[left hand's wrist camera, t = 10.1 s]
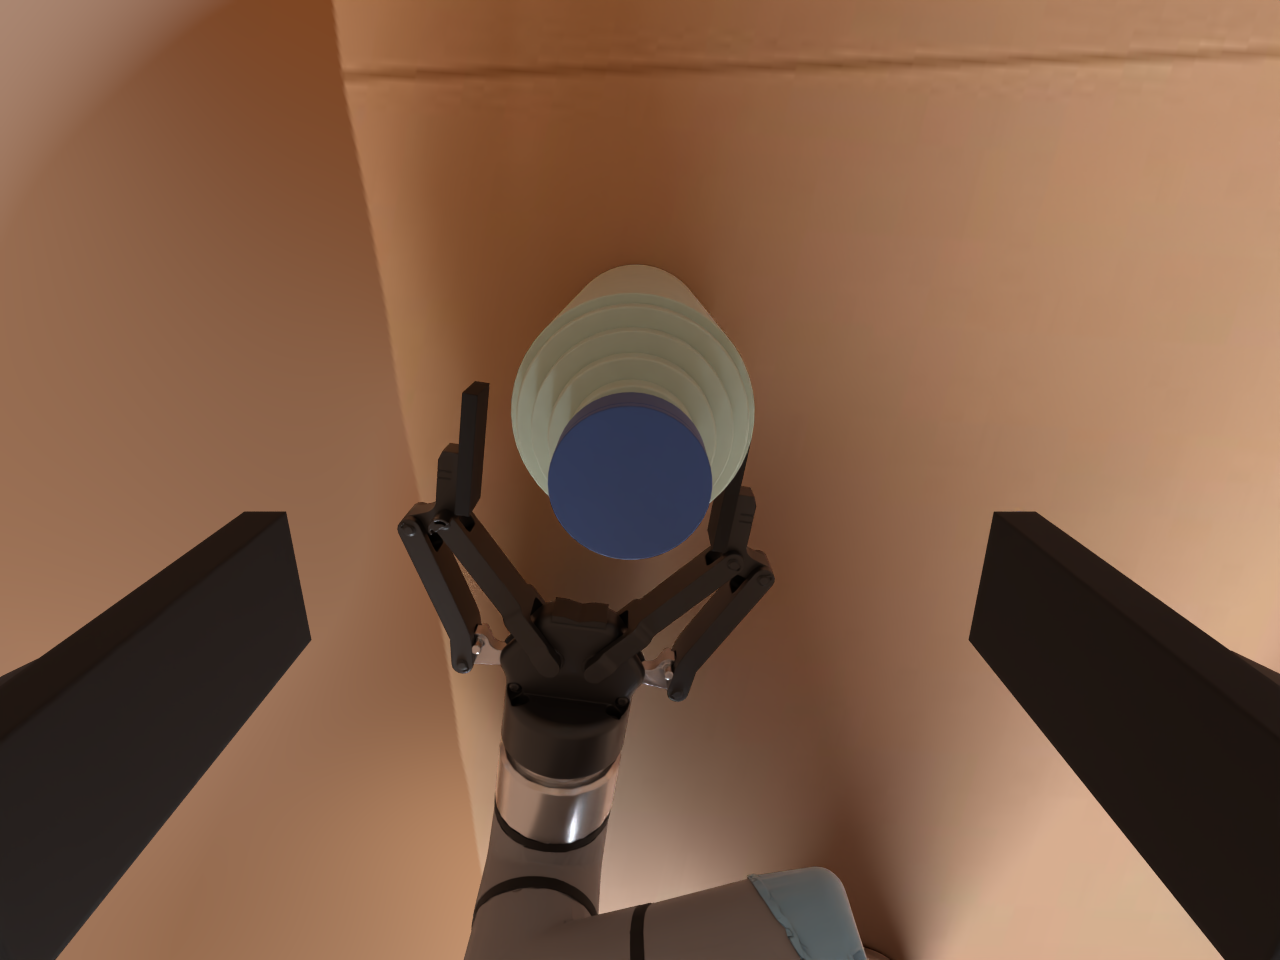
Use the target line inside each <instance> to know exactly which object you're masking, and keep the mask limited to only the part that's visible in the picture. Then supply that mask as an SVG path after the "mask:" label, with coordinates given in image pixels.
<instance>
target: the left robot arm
mask: <svg viewBox="0 0 1280 960" xmlns="http://www.w3.org/2000/svg"><path fill="white" fill-rule="evenodd" d="M310 641H311V636H310V631H309V625H308V620H307V615H306V610H305V605H304V600H303V595H302V590H301V585H300V580H299V575H298V570H297V565H296V560H295V554H294V550H293V544H292V539H291V534H290V529H289V524H288V519H287V514H286V512H243V513H242V514H240V515H239V516H238V517H236V518H235V519H233V520H232V521H231V522H229V523H228V524H226V525H225V526H224V527H222V528H221V529H219V530H218V531H217V532H215V533H214V534H212V535H211V536H210V537H208V538H207V539H205V540H204V541H203V542H201V543H200V544H198V545H197V546H196V547H194V548H193V549H191V550H190V551H189V552H187V553H186V554H184V555H183V556H182V557H180V558H179V559H177V560H176V561H175V562H173V563H172V564H170V565H169V566H168V567H166V568H165V569H163V570H162V571H161V572H159V573H158V574H156V575H155V576H154V577H152V578H151V579H149V580H148V581H147V582H145V583H144V584H142V585H141V586H140V587H138V588H137V589H135V590H134V591H133V592H131V593H130V594H128V595H127V596H126V597H124V598H123V599H121V600H120V601H119V602H117V603H116V604H114V605H113V606H112V607H110V608H109V609H107V610H106V611H105V612H103V613H102V614H100V615H99V616H98V617H96V618H95V619H93V620H92V621H91V622H89V623H88V624H86V625H85V626H84V627H82V628H81V629H79V630H78V631H76V632H75V633H74V634H72V635H71V636H70V637H68V638H67V639H65V640H64V641H62V642H61V643H60V644H58V645H57V646H56V647H54V648H53V649H51V650H50V651H48V652H47V653H46V654H44V655H43V656H41V657H40V658H39V659H36V660H34V661H32V662H30V663H28V664H26V665H24V666H22V667H20V668H18V669H16V670H13V671H12V672H9V673H7V674H5V675H3V676H1V677H0V960H55V959H56V958H57V957H58V956H59V954H60V953H61V952H62V951H63V950H64V948H65V947H66V946H67V945H68V943H69V942H70V941H71V940H72V938H73V937H74V936H75V935H76V933H77V932H78V931H79V929H80V928H81V927H82V926H83V924H84V923H85V922H86V921H87V920H88V918H89V917H90V916H91V914H92V913H93V912H94V911H95V909H96V908H97V907H98V906H99V904H100V903H101V902H102V901H103V900H104V898H105V897H106V896H107V895H108V893H109V892H110V891H111V890H112V888H113V887H114V886H115V885H116V883H117V882H118V881H119V879H120V878H121V877H122V876H123V874H124V873H125V872H126V871H127V870H128V868H129V867H130V866H131V865H132V863H133V862H134V861H135V860H136V858H137V857H138V856H139V855H140V853H141V852H142V851H143V850H144V848H145V847H146V846H147V845H148V843H149V842H150V841H151V840H152V838H153V837H154V836H155V835H156V833H157V832H158V831H159V829H160V828H161V827H162V826H163V825H164V823H165V822H166V821H167V819H168V818H169V817H170V816H171V815H172V813H173V812H174V811H175V810H176V808H177V807H178V806H179V805H180V803H181V802H182V801H183V799H184V798H185V797H186V796H187V795H188V793H189V792H190V791H191V790H192V788H193V787H194V786H195V785H196V783H197V782H198V781H199V780H200V778H201V777H202V776H203V775H204V773H205V772H206V771H207V770H208V768H209V767H210V766H211V765H212V763H213V762H214V761H215V760H216V758H217V757H218V756H219V755H220V753H221V752H222V751H223V750H224V748H225V747H226V746H227V745H228V743H229V742H230V741H231V740H232V738H233V737H234V736H235V735H236V733H237V732H238V731H239V729H240V728H241V727H242V726H243V725H244V723H245V722H246V721H247V720H248V718H249V717H250V716H251V715H252V713H253V712H254V711H255V710H256V708H257V707H258V706H259V705H260V703H261V702H262V701H263V700H264V698H265V697H266V696H267V695H268V693H269V692H270V691H271V690H272V688H273V687H274V686H275V685H276V683H277V682H278V681H279V680H280V678H281V677H282V676H283V675H284V673H285V672H286V671H287V670H288V668H289V667H290V666H291V665H292V663H293V662H294V661H295V660H296V658H297V657H298V656H299V655H300V653H301V652H302V651H303V650H304V648H305V647H306V646H307V645H308V643H309V642H310ZM969 641H970V642H971V643H972V645H973V646H974V647H975V648H976V650H977V651H978V652H979V653H980V655H981V656H982V657H983V658H984V660H985V661H986V662H987V663H988V665H989V666H990V667H991V668H992V670H993V671H994V672H995V673H996V675H997V676H998V677H999V678H1000V680H1001V681H1002V682H1003V683H1004V685H1005V686H1006V687H1007V688H1008V690H1009V691H1010V692H1011V693H1012V695H1013V696H1014V697H1015V698H1016V700H1017V701H1018V702H1019V703H1020V705H1021V706H1022V707H1023V708H1024V710H1025V711H1026V712H1027V713H1028V715H1029V716H1030V717H1031V718H1032V720H1033V721H1034V722H1035V723H1036V725H1037V726H1038V727H1039V728H1040V730H1041V731H1042V732H1043V733H1044V735H1045V736H1046V737H1047V738H1048V740H1049V741H1050V742H1051V743H1052V745H1053V746H1054V747H1055V748H1056V750H1057V751H1058V752H1059V753H1060V755H1061V756H1062V757H1063V758H1064V760H1065V761H1066V762H1067V763H1068V765H1069V766H1070V767H1071V768H1072V770H1073V771H1074V772H1075V773H1076V775H1077V776H1078V777H1079V778H1080V780H1081V781H1082V782H1083V783H1084V785H1085V786H1086V787H1087V788H1088V790H1089V791H1090V792H1091V793H1092V795H1093V796H1094V797H1095V798H1096V800H1097V801H1098V802H1099V803H1100V805H1101V806H1102V807H1103V808H1104V810H1105V811H1106V812H1107V813H1108V815H1109V816H1110V817H1111V818H1112V820H1113V821H1114V822H1115V823H1116V825H1117V826H1118V827H1119V828H1120V830H1121V831H1122V832H1123V833H1124V835H1125V836H1126V837H1127V838H1128V840H1129V841H1130V842H1131V843H1132V845H1133V846H1134V847H1135V848H1136V850H1137V851H1138V852H1139V853H1140V855H1141V856H1142V857H1143V858H1144V860H1145V861H1146V862H1147V863H1148V865H1149V866H1150V867H1151V868H1152V870H1153V871H1154V872H1155V873H1156V875H1157V876H1158V877H1159V878H1160V880H1161V881H1162V882H1163V883H1164V885H1165V886H1166V887H1167V888H1168V890H1169V891H1170V892H1171V893H1172V895H1173V896H1174V897H1175V898H1176V900H1177V901H1178V902H1179V903H1180V905H1181V906H1182V907H1183V908H1184V910H1185V911H1186V912H1187V913H1188V915H1189V916H1190V917H1191V918H1192V920H1193V921H1194V922H1195V923H1196V925H1197V926H1198V927H1199V928H1200V930H1201V931H1202V932H1203V933H1204V935H1205V936H1206V937H1207V938H1208V940H1209V941H1210V942H1211V943H1212V945H1213V946H1214V947H1215V948H1216V950H1217V951H1218V952H1219V953H1220V955H1221V956H1222V957H1223V958H1224V960H1280V674H1279V673H1277V672H1275V671H1273V670H1271V669H1269V668H1267V667H1264V666H1262V665H1260V664H1258V663H1256V662H1254V661H1252V660H1250V659H1248V658H1246V657H1244V656H1241V655H1239V654H1237V653H1235V652H1233V651H1230V650H1229V649H1227V648H1226V647H1225V646H1223V645H1222V644H1220V643H1219V642H1217V641H1216V640H1215V639H1213V638H1212V637H1210V636H1209V635H1208V634H1206V633H1205V632H1203V631H1202V630H1201V629H1199V628H1198V627H1196V626H1195V625H1194V624H1192V623H1191V622H1189V621H1188V620H1187V619H1185V618H1184V617H1182V616H1181V615H1180V614H1178V613H1177V612H1175V611H1174V610H1173V609H1171V608H1170V607H1168V606H1167V605H1166V604H1164V603H1163V602H1161V601H1160V600H1159V599H1157V598H1156V597H1154V596H1153V595H1152V594H1150V593H1149V592H1147V591H1146V590H1145V589H1143V588H1142V587H1140V586H1139V585H1138V584H1136V583H1135V582H1133V581H1132V580H1131V579H1129V578H1128V577H1126V576H1125V575H1124V574H1122V573H1121V572H1119V571H1118V570H1117V569H1115V568H1114V567H1112V566H1111V565H1110V564H1108V563H1107V562H1105V561H1104V560H1103V559H1101V558H1100V557H1098V556H1097V555H1096V554H1094V553H1093V552H1091V551H1090V550H1089V549H1087V548H1086V547H1084V546H1083V545H1082V544H1080V543H1079V542H1077V541H1076V540H1075V539H1073V538H1072V537H1070V536H1069V535H1068V534H1066V533H1065V532H1063V531H1062V530H1061V529H1059V528H1058V527H1056V526H1055V525H1054V524H1052V523H1051V522H1049V521H1048V520H1047V519H1045V518H1044V517H1042V516H1041V515H1040V514H1038V513H1037V512H994V514H993V519H992V524H991V529H990V534H989V539H988V544H987V549H986V554H985V559H984V565H983V570H982V575H981V580H980V585H979V590H978V595H977V600H976V605H975V610H974V615H973V620H972V625H971V630H970V635H969Z"/></svg>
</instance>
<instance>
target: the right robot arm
mask: <svg viewBox="0 0 1280 960" xmlns="http://www.w3.org/2000/svg"><path fill="white" fill-rule="evenodd" d="M488 395H489V383H484V382H477V381H475V382H474V383H473V384H471V385H470V386H469V387H468V388H467V389H466V390H465V391H464V392H463V393H462V405H461V421H460V436H459V444H453V443H449V445H448V446H447V447H446V448H445V449H444V450H443V451H442V453H441V455H440V457H439V459H438V472H437V490H436V502H434V503H429V504H427V503H424V502H419V503H417V504H415V505H414V506H413V507H412V508H411V510H410V511H409V512H408V513H407V514H406V516H405V517H404V518H403V519H402V521H401V522H400V523H399V525H398V533H399V535H400V537H401V539H402V541H403V543H404V545H405V548H406V550H407V552H408V554H409V556H410V558H411V560H412V562H413V564H414V566H415V568H416V570H417V572H418V574H419V576H420V578H421V580H422V583H423V584H424V587H425V589H426V591H427V593H428V595H429V597H430V599H431V601H432V603H433V605H434V607H435V609H436V611H437V613H438V615H439V617H440V620H441V622H442V624H443V626H444V628H445V630H446V632H447V634H448V636H449V638H450V646H451V661H452V667H453V669H454V670H455V671H457V672H458V673H468V672H470V671H471V669H472V668H473V665H474V664H497V665H501V667H502V669H503V670H504V673H505V675H506V691H505V700H504V710H503V719H502V729H501V735H502V739H501V742H500V746H499V757H498V768H497V779H496V791H495V807H494V814H493V821H492V828H491V835H490V842H489V849H488V854H487V859H486V864H485V868H484V872H483V876H482V880H481V884H480V888H479V892H478V897H477V900H476V905H475V909H474V914H473V921H472V931H471V935H470V939H469V942H468V946H467V950H466V954H465V957H464V960H890V959H889V958H887V957H885V956H884V955H882V954H880V953H878V952H876V951H874V950H871V949H868V948H865V947H863V945H862V942H861V939H860V935H859V932H858V929H857V926H856V923H855V920H854V916H853V913H852V910H851V907H850V903H849V900H848V897H847V894H846V891H845V888H844V886H843V884H842V882H841V881H840V879H839V878H838V877H837V876H836V875H835V874H834V873H833V872H831V871H830V870H828V869H826V868H823V867H816V866H815V867H807V868H801V869H794V870H788V871H781V872H774V873H768V874H761V875H756V874H751V875H747V878H748V879H746V880H742V881H738V882H734V883H730V884H726V885H722V886H718V887H715V888H711V889H707V890H703V891H699V892H695V893H691V894H687V895H683V896H680V897H676V898H672V899H668V900H664V901H660V902H656V903H647V904H643V905H638V906H634V907H630V908H625V909H621V910H617V911H612V912H608V913H604V914H599V915H598V911H599V894H600V878H601V867H602V858H603V852H604V845H605V838H606V831H607V824H608V818H609V815H610V810H611V806H612V804H613V798H614V793H615V787H616V781H617V775H618V770H619V764H620V758H621V750H622V747H623V743H624V737H625V732H626V726H627V721H628V715H629V710H630V704H631V699H632V695H633V693H634V692H635V690H636V689H637V688H638V687H639V686H640V685H641V684H646V685H651V686H655V687H659V688H664V689H667V695H668V697H669V698H670V699H671V700H673V701H677V702H679V701H683V700H684V699H686V697H687V696H688V693H689V690H690V687H691V685H692V682H693V679H694V676H695V673H696V672H697V670H698V669H699V668H700V667H701V666H702V665H703V664H704V662H705V661H706V660H707V659H708V658H709V657H710V656H711V654H712V653H713V652H714V651H715V650H716V649H717V648H718V647H719V645H720V644H721V643H722V642H723V641H724V640H725V639H726V637H727V636H728V635H729V634H730V633H731V632H732V631H733V630H734V628H735V627H736V626H737V625H738V624H739V623H740V622H741V620H742V619H743V618H744V617H745V616H746V615H747V614H748V612H749V611H750V610H751V609H752V608H753V607H754V606H755V605H756V603H757V602H758V601H759V600H760V599H761V598H762V597H763V595H764V594H765V593H766V592H767V591H768V590H769V589H770V588H771V586H772V585H773V583H774V580H775V578H774V575H773V572H772V569H771V567H770V564H769V562H768V559H767V557H766V554H765V553H764V552H762V551H760V550H755V551H754V550H752V549H750V548H749V547H747V543H748V539H749V535H750V530H751V526H752V522H753V518H754V513H755V509H756V503H755V498H754V495H753V493H752V490H751V488H750V487H743V486H741V484H742V479H743V475H744V470H745V466H746V461H747V457H748V452H749V448H750V445H749V448H748V451H747V454H746V456H745V458H744V460H743V463H742V465H741V467H740V468H739V470H738V471H737V473H736V475H735V476H734V478H733V479H732V480H731V482H730V483H729V484H728V485H727V487H726V488H725V489H724V490H723V491H722V492H721V493H720V494H719V495H718V496H717V497H716V498H715V499H714V501H713V506H712V510H711V515H710V520H709V525H708V535H709V539H710V544H711V546H710V547H708V548H707V549H706V550H705V551H703V552H702V553H701V554H699V555H698V556H697V557H695V558H694V559H693V560H691V561H690V562H689V563H687V564H686V565H685V566H683V567H682V568H681V569H679V570H678V571H677V572H676V573H674V574H673V575H672V576H670V577H669V578H668V579H666V580H665V581H664V582H662V583H661V584H660V585H658V586H657V587H656V588H654V589H653V590H652V591H650V592H649V593H648V594H646V595H645V596H644V597H643V598H641V599H639V600H638V599H635V600H633V601H632V602H630V603H629V604H628V605H626V606H625V607H624V608H622V609H621V610H620V611H618V612H617V613H616V612H615V611H613V610H611V609H609V608H608V605H609V604H602V603H587V604H581V603H578V602H575V601H573V600H570V599H565V598H558V597H556V600H555V601H552V602H548V603H545V601H544V600H543V599H542V597H541V596H540V595H539V593H538V592H537V591H536V589H535V588H534V587H533V586H532V585H531V584H527V583H526V582H525V581H524V579H523V578H522V577H521V575H520V574H519V573H518V571H517V570H516V569H515V567H514V566H513V565H512V563H511V562H510V561H509V560H508V558H507V557H506V556H505V554H504V553H503V552H502V550H501V549H500V548H499V546H498V545H497V544H496V542H495V541H494V540H493V538H492V537H491V536H490V534H489V533H488V532H487V530H486V529H485V528H484V526H483V525H482V524H481V523H480V521H479V520H478V519H477V517H476V516H475V515H474V513H473V512H472V511H473V509H474V507H475V506H476V504H477V502H478V501H479V499H480V496H481V483H482V471H483V458H484V446H485V433H486V420H487V408H488ZM751 439H752V438H751ZM750 443H751V441H750ZM453 553H454V554H453ZM454 555H455V556H456V557H457V558H458V560H459V561H460V562H461V563H462V565H463V566H464V567H465V569H466V570H467V571H468V572H469V574H470V575H471V576H472V577H473V579H474V580H475V581H476V583H477V584H478V585H479V586H480V588H481V589H482V590H483V591H484V593H485V594H486V595H487V597H488V598H489V599H490V600H491V602H492V603H493V604H494V606H495V607H496V608H497V609H498V611H499V612H500V613H501V615H502V617H503V621H504V624H505V626H506V628H507V629H508V630H509V632H510V633H511V634H510V635H509V636H508V637H507V638H506V640H505V642H503V641H499V640H497V639H496V638H495V637H494V636H493V634H492V631H491V630H490V626H489V625H488V624H487V623H482V624H481V617H480V613H479V610H478V607H477V604H476V602H475V600H474V598H473V596H472V594H471V591H470V589H469V587H468V585H467V583H466V580H465V578H464V576H463V574H462V572H461V570H460V567H459V565H458V563H457V561H456V559H455V557H454ZM719 587H720V588H719ZM718 588H719V589H718ZM717 589H718V590H717ZM715 590H717V591H716V593H715V594H714V595H713V596H712V597H711V598H710V600H709V601H708V602H707V603H706V604H705V605H704V607H703V608H702V609H701V610H700V611H699V613H698V614H697V615H696V616H695V617H694V618H693V620H692V621H691V622H690V623H689V624H688V625H687V627H686V628H685V629H684V630H683V631H682V633H681V634H680V635H679V637H678V638H677V640H676V641H675V643H674V645H673V648H672V649H670V648H665V649H664V650H663V652H662V653H660V655H659V656H658V657H657V658H656V659H655V660H653V661H645V659H644V656H643V654H642V652H641V650H642V649H644V648H645V647H646V646H647V645H648V644H649V643H650V642H651V640H652V638H653V637H654V636H655V635H656V634H657V633H658V632H660V631H661V630H662V629H664V628H665V627H667V626H668V625H669V624H671V623H672V622H673V621H675V620H676V619H677V618H679V617H680V616H681V615H683V614H684V613H686V612H687V611H688V610H690V609H691V608H692V607H694V606H695V605H696V604H698V603H699V602H700V601H702V600H703V599H705V598H706V597H707V596H709V595H710V594H711V593H713V592H714V591H715Z"/></svg>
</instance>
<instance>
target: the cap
mask: <svg viewBox="0 0 1280 960" xmlns="http://www.w3.org/2000/svg"><path fill="white" fill-rule="evenodd" d="M548 494H549V498H550V502H551V505H552V508H553V511H554V513H555V515H556V517H557V519H558V520H559V522H560V523H561V525H562V526H563V528H564V529H565V530H566V531H567V532H568V533H569V534H570V535H571V537H572V538H574V539H575V540H576V541H577V542H579V543H580V544H581V545H583V546H584V547H586V548H588V549H589V550H592V551H594V552H596V553H598V554H601V555H604V556H607V557H611V558H616V559H625V560H637V559H645V558H650V557H654V556H657V555H660V554H663V553H665V552H668V551H669V550H671V549H673V548H675V547H677V546H678V545H679V544H681V543H682V542H683V541H685V540H686V539H687V538H688V537H689V536H690V535H691V534H692V533H693V532H694V531H695V530H696V528H697V527H698V526H699V524H700V523H701V521H702V520H703V518H704V516H705V514H706V512H707V509H708V507H709V503H710V500H711V494H712V472H711V466H710V463H709V459H708V456H707V453H706V449H705V446H704V442H703V440H702V437H701V435H700V433H699V431H698V430H697V428H696V426H695V425H694V423H693V422H692V421H691V420H690V418H689V417H688V416H687V415H686V414H685V413H684V412H683V411H681V410H680V409H679V408H678V407H676V406H675V405H673V404H672V403H670V402H668V401H666V400H664V399H662V398H659V397H656V396H654V395H650V394H645V393H637V392H622V393H616V394H611V395H608V396H604V397H601V398H599V399H597V400H595V401H593V402H591V403H589V404H588V405H586V406H585V407H583V408H582V409H581V410H580V411H579V412H577V413H576V414H575V415H574V416H573V418H572V419H571V420H570V421H569V422H568V424H567V425H566V427H565V428H564V430H563V432H562V434H561V436H560V438H559V441H558V443H557V446H556V448H555V451H554V453H553V456H552V459H551V462H550V466H549V471H548Z"/></svg>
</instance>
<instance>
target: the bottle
mask: <svg viewBox="0 0 1280 960" xmlns="http://www.w3.org/2000/svg"><path fill="white" fill-rule="evenodd" d="M622 392H637V393H645V394H650V395H654V396H656V397H659V398H662V399H664V400H666V401H668V402H670V403H672V404H673V405H675V406H676V407H678V408H679V409H680V410H681V411H683V412H684V413H685V414H686V415H687V416H688V417H689V418H690V420H691V421H692V422H693V423H694V425H695V426H696V428H697V430H698V431H699V433H700V435H701V437H702V440H703V442H704V446H705V449H706V453H707V456H708V459H709V463H710V466H711V472H712V494H711V500H710V503H711V502H712V501H713V500H714V499H715V498H716V497H717V496H718V495H719V494H720V493H721V492H722V491H723V490H724V489H725V488H726V487H727V485H728V484H729V483H730V482H731V480H732V479H733V478H734V476H735V475H736V473H737V471H738V470H739V468H740V467H741V465H742V463H743V460H744V458H745V456H746V454H747V451H748V448H749V445H750V441H751V438H752V433H753V427H754V412H755V405H754V396H753V389H752V385H751V381H750V377H749V374H748V372H747V369H746V367H745V364H744V362H743V360H742V358H741V356H740V354H739V353H738V351H737V349H736V347H735V346H734V345H733V343H732V342H731V341H730V339H729V338H728V337H727V336H726V334H725V333H724V332H723V331H722V329H721V328H720V327H719V326H718V324H717V323H716V322H715V321H714V319H713V318H712V317H711V316H710V314H709V313H708V312H707V311H706V309H705V308H704V307H703V306H702V304H701V303H700V302H699V301H698V300H697V298H696V297H695V296H694V295H693V293H692V292H691V291H690V290H689V288H688V287H687V286H686V285H685V284H684V283H683V282H682V281H680V280H679V279H678V278H676V277H675V276H674V275H672V274H670V273H668V272H666V271H664V270H662V269H659V268H657V267H652V266H648V265H639V264H636V265H625V266H619V267H616V268H613V269H610V270H608V271H606V272H604V273H602V274H600V275H599V276H597V277H596V278H594V279H593V280H592V281H591V282H590V283H588V284H587V285H586V286H585V287H584V288H583V289H582V290H581V291H580V293H579V294H578V295H577V296H576V297H575V298H574V299H573V300H572V301H571V302H570V303H569V304H568V305H567V306H566V307H565V308H564V309H563V310H562V311H561V312H560V313H559V314H558V315H557V316H556V317H555V318H554V320H553V321H552V322H551V323H550V324H549V325H548V326H547V327H546V328H545V329H544V330H543V331H542V332H541V334H540V335H539V336H538V337H537V338H536V339H535V341H534V342H533V343H532V345H531V347H530V348H529V350H528V351H527V353H526V354H525V356H524V359H523V361H522V363H521V365H520V367H519V369H518V373H517V376H516V379H515V382H514V387H513V393H512V399H511V419H512V429H513V434H514V438H515V442H516V446H517V448H518V451H519V453H520V456H521V458H522V461H523V462H524V464H525V466H526V468H527V470H528V471H529V473H530V475H531V476H532V477H533V479H534V480H535V481H536V483H537V484H538V485H539V486H540V487H541V489H542V490H543V491H544V492H545V493H546V494H547V495H548V496H549V494H548V471H549V466H550V462H551V459H552V456H553V453H554V451H555V448H556V446H557V443H558V441H559V438H560V436H561V434H562V432H563V430H564V428H565V427H566V425H567V424H568V422H569V421H570V420H571V419H572V418H573V416H574V415H575V414H576V413H577V412H579V411H580V410H581V409H582V408H583V407H585V406H586V405H588V404H589V403H591V402H593V401H595V400H597V399H599V398H601V397H604V396H608V395H611V394H616V393H622Z"/></svg>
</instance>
